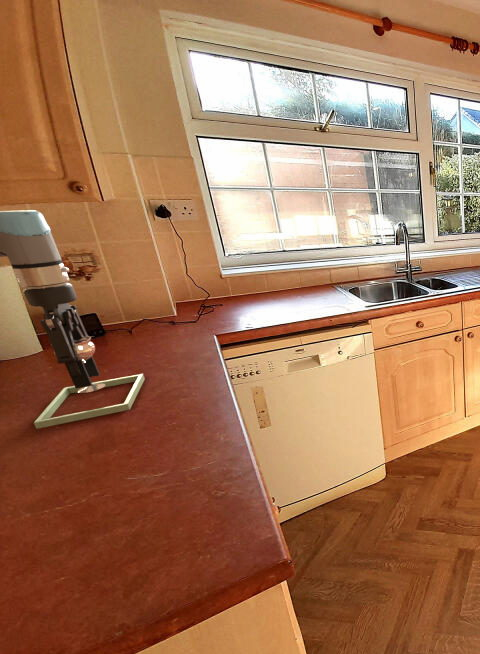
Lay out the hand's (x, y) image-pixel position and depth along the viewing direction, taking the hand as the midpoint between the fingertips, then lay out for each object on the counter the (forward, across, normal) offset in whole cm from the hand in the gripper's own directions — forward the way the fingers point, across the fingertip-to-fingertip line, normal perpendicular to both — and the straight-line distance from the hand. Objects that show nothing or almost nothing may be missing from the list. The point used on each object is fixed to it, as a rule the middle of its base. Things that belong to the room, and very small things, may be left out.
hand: (88, 381), depth 100 cm
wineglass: (+2, 0, 0) cm, 2 cm away
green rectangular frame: (+7, 0, 0) cm, 7 cm away
